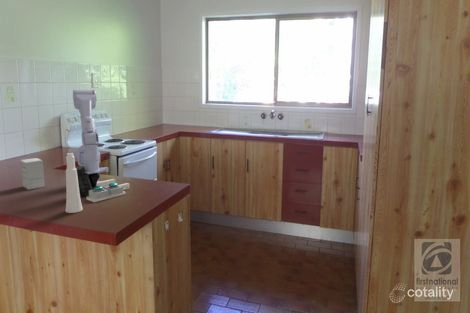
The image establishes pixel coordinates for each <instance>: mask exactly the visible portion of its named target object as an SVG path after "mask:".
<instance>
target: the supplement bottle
mask: <svg viewBox="0 0 470 313" xmlns="http://www.w3.org/2000/svg"><path fill="white" fill-rule="evenodd" d="M75 168H76V169H77V177H78V185H79V193H80V198H81V197H82V198H83V197H88V196H89V191H90V190H93V187H92V184H91V180H90V176H89V174H88V173H85V168H84V166H80V165H78V166H75Z"/></svg>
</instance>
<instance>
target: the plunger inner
mask: <svg viewBox="0 0 470 313" xmlns="http://www.w3.org/2000/svg"><path fill="white" fill-rule="evenodd" d="M117 185H119V184H118V182H116V183H110V184H109V186H110V188H111V189H114V188H117Z"/></svg>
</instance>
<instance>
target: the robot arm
mask: <svg viewBox="0 0 470 313" xmlns="http://www.w3.org/2000/svg"><path fill="white" fill-rule="evenodd" d="M72 99H73V107H74V109H76V110H77V111H79V113H80V123H81V124H80V125H81V145H80V146H79V147H78V148H77V151H76V152H77V153H76V157H77V164H78V166H84V168H85V173H88V174H89V176H90V180H91V184H92V187H93V190H94V187H95V186H96V184H97V182H101V181H102V180H100V177H101V173H108V172H109V167H108V166H104V167H103V166H102V167H100V163H101V152H100V148H99V142H100V140H99V138H100V137H99V134H98V130H97V127H96V126H97V125H96V120H95V119H94V118H93V116H92V111H93V110H94V109H96V106H97V105H96V104H97V92H96V90H95V89H73V90H72Z"/></svg>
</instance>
